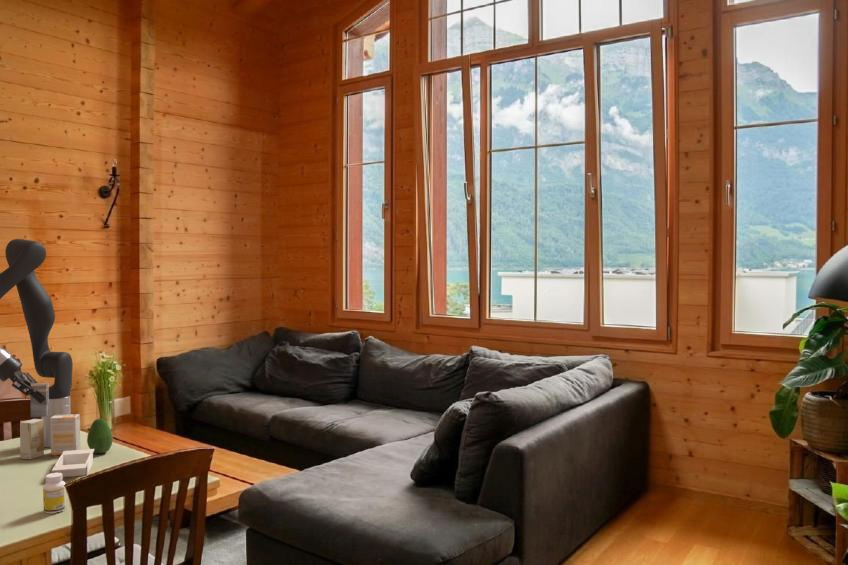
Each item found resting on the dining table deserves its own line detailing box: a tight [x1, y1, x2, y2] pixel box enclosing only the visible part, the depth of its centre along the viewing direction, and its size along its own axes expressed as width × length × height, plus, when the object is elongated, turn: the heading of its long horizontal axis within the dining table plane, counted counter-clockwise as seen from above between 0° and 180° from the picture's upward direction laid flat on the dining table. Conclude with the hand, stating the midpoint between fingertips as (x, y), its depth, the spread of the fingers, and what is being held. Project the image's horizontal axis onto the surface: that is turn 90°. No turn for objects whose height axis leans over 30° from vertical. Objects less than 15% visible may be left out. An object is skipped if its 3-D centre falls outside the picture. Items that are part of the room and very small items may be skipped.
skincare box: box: [19, 418, 45, 460], centre depth 237 cm, size 6×4×12 cm
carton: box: [51, 448, 95, 478], centre depth 223 cm, size 21×9×4 cm, turn 18°
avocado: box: [86, 418, 114, 454], centre depth 241 cm, size 8×8×12 cm
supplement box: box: [50, 413, 82, 456], centre depth 241 cm, size 8×5×13 cm, turn 97°
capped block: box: [29, 382, 50, 418], centre depth 224 cm, size 4×4×10 cm
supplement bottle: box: [42, 472, 67, 514], centre depth 189 cm, size 5×5×10 cm
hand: (44, 399), depth 225 cm, fingers closed on capped block, 4 cm apart
